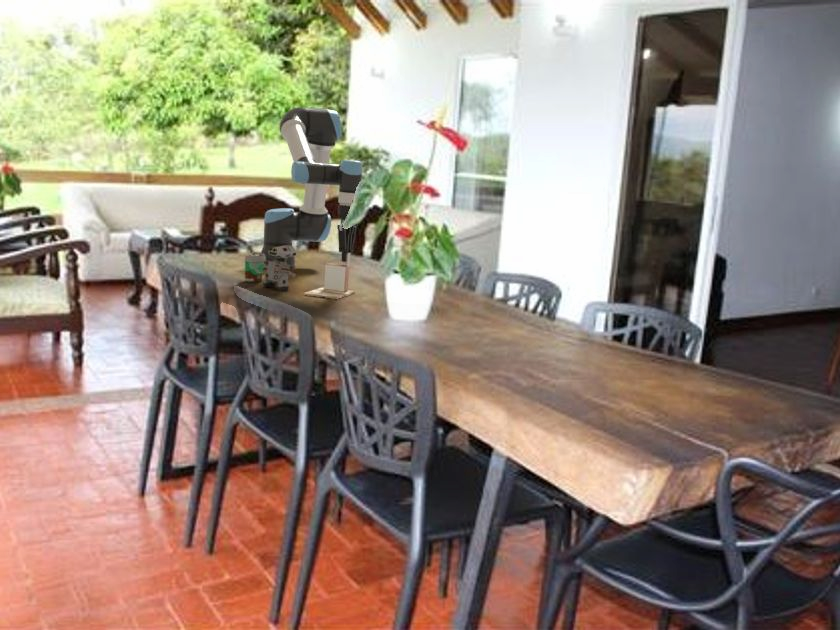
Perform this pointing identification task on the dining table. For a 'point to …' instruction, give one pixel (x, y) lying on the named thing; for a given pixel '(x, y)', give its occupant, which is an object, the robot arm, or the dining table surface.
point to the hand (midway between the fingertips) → (344, 270)
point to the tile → (336, 277)
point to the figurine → (279, 267)
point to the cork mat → (328, 293)
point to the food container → (254, 267)
